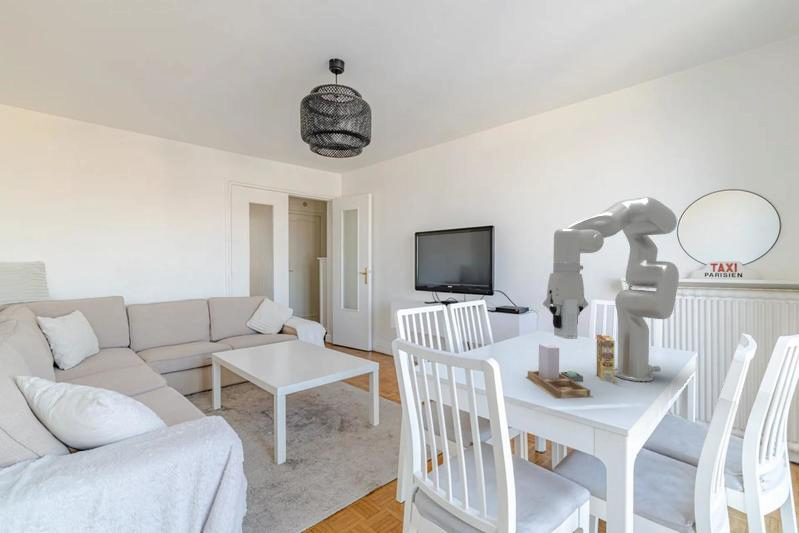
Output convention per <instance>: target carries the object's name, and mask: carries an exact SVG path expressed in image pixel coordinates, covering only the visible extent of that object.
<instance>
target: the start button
mask: <svg viewBox="0 0 799 533" xmlns="http://www.w3.org/2000/svg"><path fill="white" fill-rule="evenodd" d="M566 372H567V375H569V376H577V373H578V372H577V371H574V370H567V371H566Z"/></svg>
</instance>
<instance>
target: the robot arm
mask: <svg viewBox="0 0 799 533" xmlns="http://www.w3.org/2000/svg"><path fill="white" fill-rule="evenodd" d="M677 222H678V220H677V215H676V214H675V212H673V210H672V209H671V208H669V207H668V206H666V205H665V204H664V203H662V202H661V201H659V200H658V199H656V198H654V197H649V196H646V197H645V196H643V197H637V198H629V199H628V198H627V199H624V200H620V201H618V202H615V203H614V204H613V205H611V206H609V207H608V208H607V209H605V210H603V211H601V212H600V213H598V214H596V215H593V216H591V217H588V218H586V219H583V220H580V221H576V222H575V223H573V224H570V225H569V226H567V227H565V228H559V229H556V230H555V231H554V234H553V262H552V263H553V266H552V268H553V271H552V272H550V275H549V278H548V282H547V291H546V298H545V300H544V301H543V303H542V306H544V307H545V308H546V309H547V310H548V311H549V312H550V313H551V314H552V325H553V328H554V327H555V328H558V329H560V328H561V316H560V310H561V306H562V305H563V301H564V299H577V326H578V322H579V316H580V315H581V312H582V311H583V310H585V309H586V308H587V307H588V306H589V303H588V301H587V300H586V298H585V287H584V281H583V280H584V278H583V274H582V273H581V271H582V270H584V266H583V265H581V254H594V253H597V252H599V251H600V250H601V249H602V248H603V246H604V243H605V240H604V239H605V238H610V237H612V236H615V235H617V234H618V233H619V232H621V231H622V232H623V234H624V235H625V238H626V240H627V241H628V245H629V254H628V255H629V256H628V261H627V265H626V269H625V270H626V271H625V282H626V283H627V284H628V285H629V286H632V287H637V288H647V289H650V288H652V289H655V290H645V289H624V290H621V291H619V292H618V293H617V294H616V296H615V299H614V302H615V309H616V314H617V315H616V316H617V368H614V377H617V378H620V379H623V380H627V381H633V382H640V381H642V382H645V381H647V382H653V381H654V379H655V378H654V377H655V376H654V375H653V374H652V373H653V372H657V373H658V372H661V370H662V369H661V367H660V366H659V365H653V366H652V365H651V364H650V362H649V361H650V359H649V355H650V352H649V351H650V328H649V326H648V323H647V322H646V320H645V319H647V318H648V319H655V320H666V319H669V318H670V317H671V316H672V314H673V312H674V308H675V302H676V298H677V293H678V287H679V280H680V273H679V269H678V267H677V266H676V264H675V263H673V262H670V261H666V260H664V261H663V260H661V261H660V260H657V258H658V252H659V250H658V247H657V245H656V243H655V242H654V241H653V239H651V237H650V236H655V235H656V236H658V235H659V236H660V235H667V234H671V233H672V232H673V231H675V230H676V227H677V225H678V223H677ZM644 318H645V319H644Z"/></svg>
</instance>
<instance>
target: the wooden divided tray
mask: <svg viewBox="0 0 799 533" xmlns="http://www.w3.org/2000/svg"><path fill="white" fill-rule="evenodd" d="M525 378H526V379H527V380H529V381H530V382H532V383H533V385H536V386H537V387H539V388H540V389H541V390H543V391H544V392H545V393H547V394H548V395H550V396H551V397H552V398H554V399H555V400H556V399H557V400H558V399H577V398H581V399H582V398H594V396H593V395H591V390H590V389H589V388H587V387H585V386H583V385H582V384H580V383H579V382H574V381H573V380H571V379H569V378H567V377H566V376H564V375H562V374H561V372H559V379H542V378H540V377H539V370H528V371H527V376H525Z"/></svg>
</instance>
